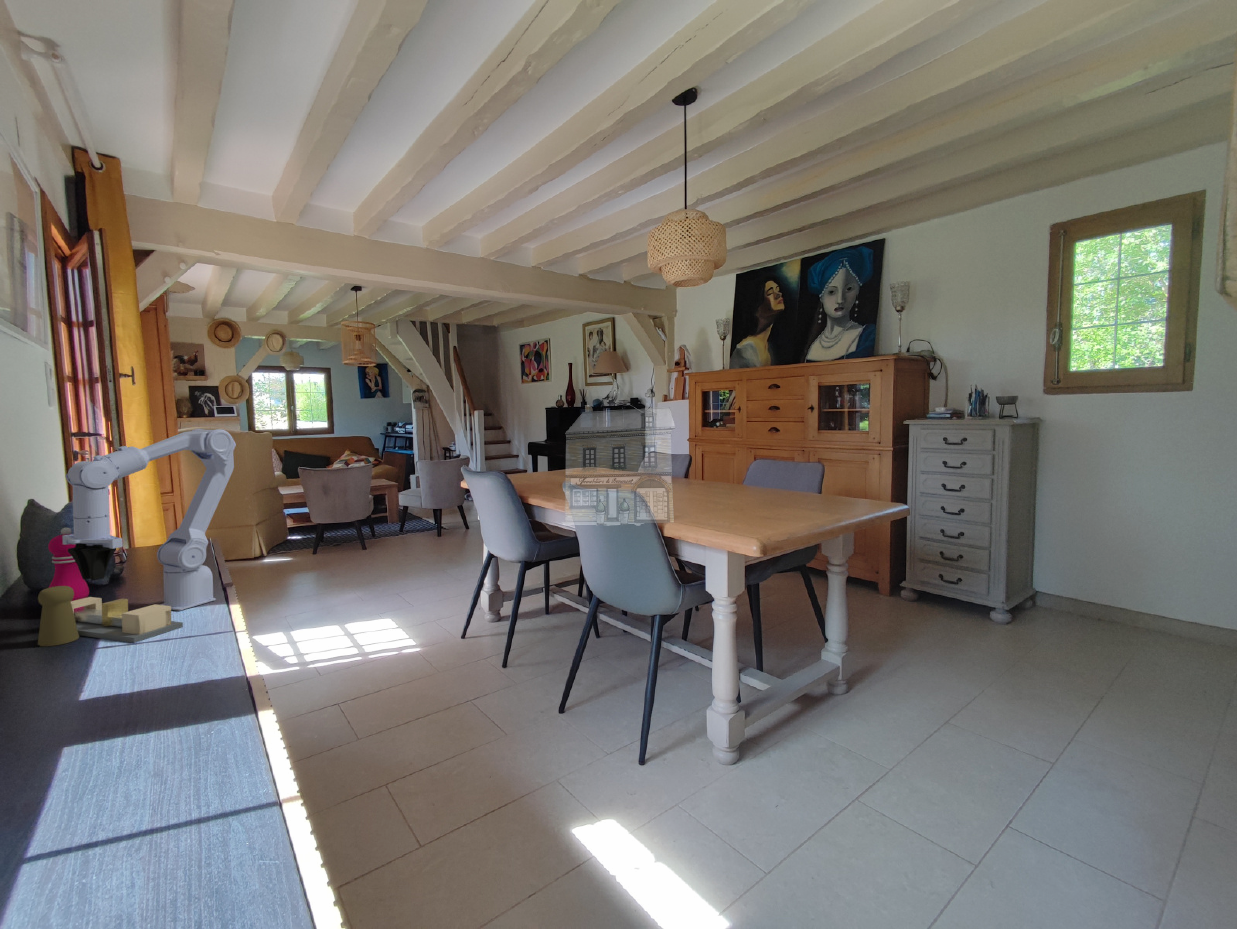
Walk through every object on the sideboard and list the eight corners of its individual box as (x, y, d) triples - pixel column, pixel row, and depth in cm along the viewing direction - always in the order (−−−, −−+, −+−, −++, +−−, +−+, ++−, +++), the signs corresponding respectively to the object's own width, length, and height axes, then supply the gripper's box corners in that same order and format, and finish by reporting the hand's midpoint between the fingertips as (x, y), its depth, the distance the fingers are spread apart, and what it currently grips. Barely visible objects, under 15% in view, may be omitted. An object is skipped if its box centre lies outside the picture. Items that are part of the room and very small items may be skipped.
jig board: (97, 616, 131) (96, 594, 131) (182, 626, 125) (182, 604, 125) (44, 630, 122) (43, 607, 121) (134, 642, 116) (133, 618, 115)
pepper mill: (63, 618, 129) (60, 530, 128) (38, 616, 131) (35, 529, 130) (97, 609, 136) (95, 526, 135) (74, 607, 138) (71, 524, 137)
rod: (83, 614, 128) (83, 594, 128) (142, 622, 124) (141, 600, 124) (62, 620, 124) (62, 599, 124) (121, 628, 120) (121, 606, 120)
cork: (39, 648, 112) (36, 593, 111) (35, 641, 115) (32, 587, 115) (81, 640, 116) (78, 586, 116) (76, 633, 120) (74, 581, 119)
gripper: (44, 517, 121) (46, 580, 122) (95, 521, 118) (97, 586, 119) (83, 513, 128) (84, 573, 129) (132, 516, 125) (133, 578, 125)
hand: (93, 579), depth 124 cm, fingers closed
